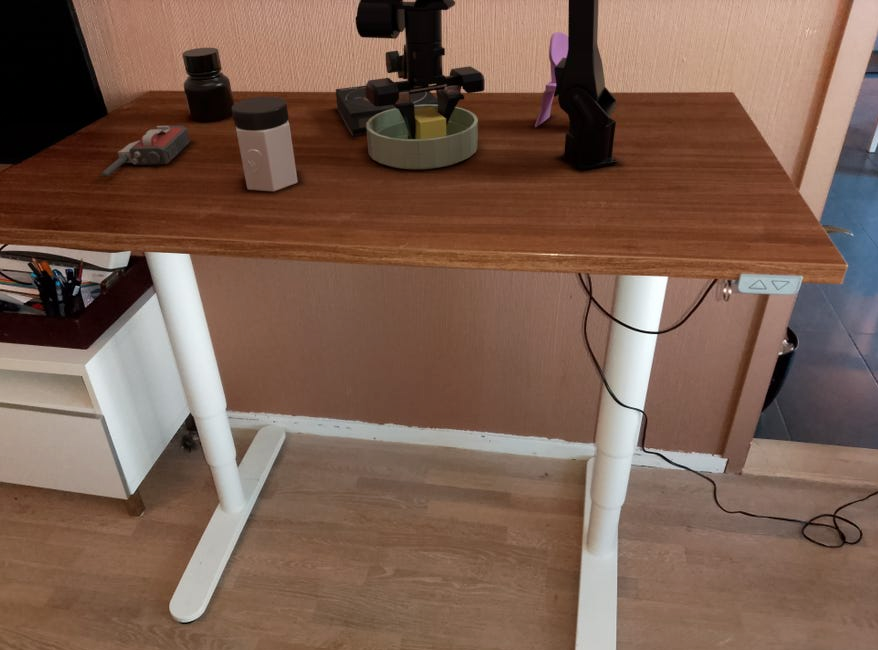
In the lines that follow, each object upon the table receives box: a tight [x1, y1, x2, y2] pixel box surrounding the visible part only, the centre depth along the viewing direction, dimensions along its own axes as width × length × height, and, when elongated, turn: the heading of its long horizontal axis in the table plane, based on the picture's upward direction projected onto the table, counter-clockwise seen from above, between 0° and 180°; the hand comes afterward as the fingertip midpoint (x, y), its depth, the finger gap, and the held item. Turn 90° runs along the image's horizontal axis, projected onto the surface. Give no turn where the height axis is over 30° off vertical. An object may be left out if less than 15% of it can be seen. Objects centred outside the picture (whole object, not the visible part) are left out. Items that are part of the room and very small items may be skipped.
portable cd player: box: [335, 80, 438, 137], centre depth 135 cm, size 16×17×4 cm
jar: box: [232, 96, 298, 193], centre depth 110 cm, size 9×8×12 cm
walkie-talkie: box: [101, 125, 191, 178], centre depth 123 cm, size 9×4×20 cm
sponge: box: [407, 107, 446, 139], centre depth 120 cm, size 4×7×5 cm, turn 18°
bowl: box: [366, 104, 479, 170], centre depth 119 cm, size 18×18×5 cm
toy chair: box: [534, 31, 568, 128], centre depth 123 cm, size 8×9×15 cm
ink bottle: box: [181, 47, 235, 122], centre depth 140 cm, size 10×9×12 cm
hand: (426, 138), depth 121 cm, fingers closed on sponge, 4 cm apart
